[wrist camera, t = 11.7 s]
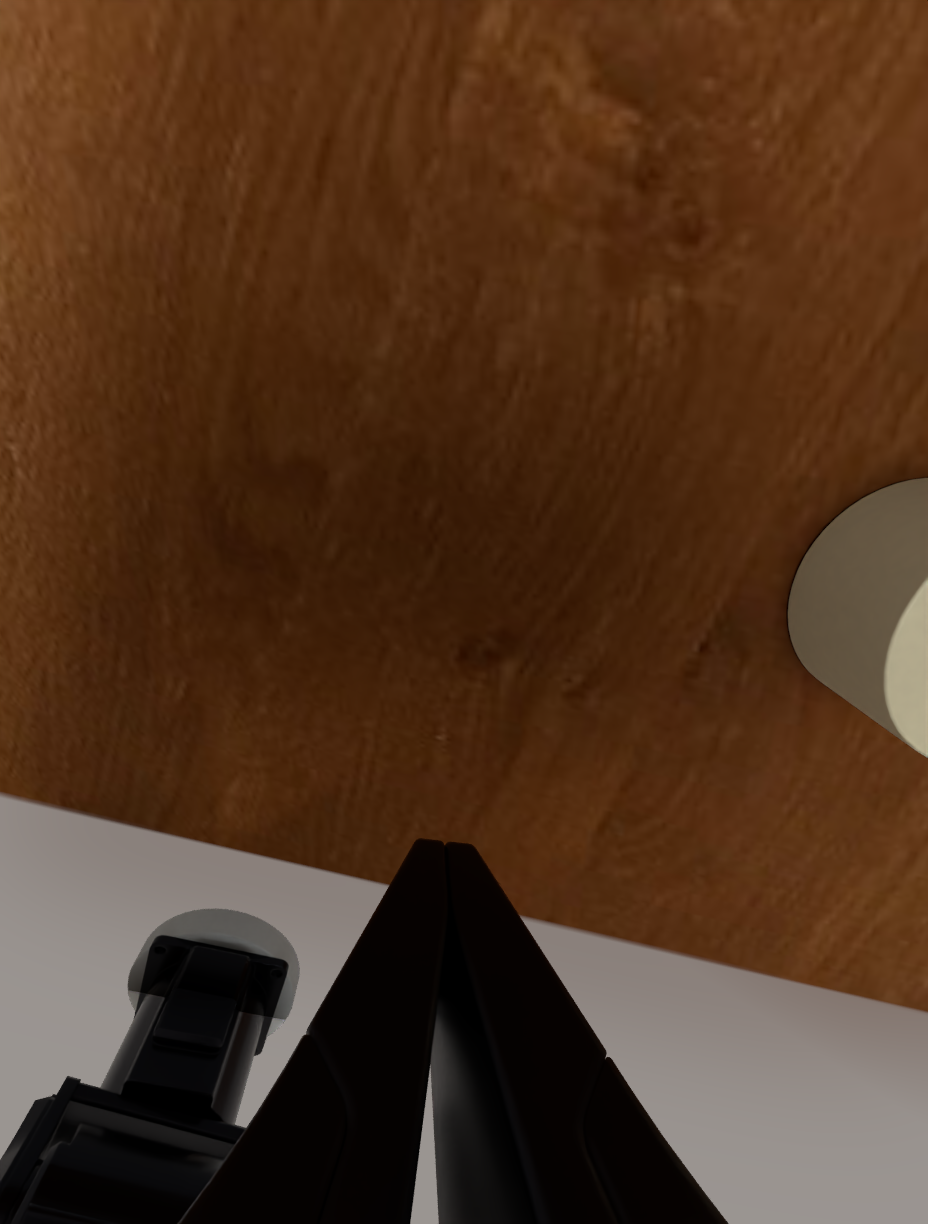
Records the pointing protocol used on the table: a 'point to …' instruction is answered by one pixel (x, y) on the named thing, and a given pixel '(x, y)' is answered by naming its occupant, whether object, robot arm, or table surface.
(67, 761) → the table surface
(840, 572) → the tape
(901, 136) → the table surface
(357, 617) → the table surface
